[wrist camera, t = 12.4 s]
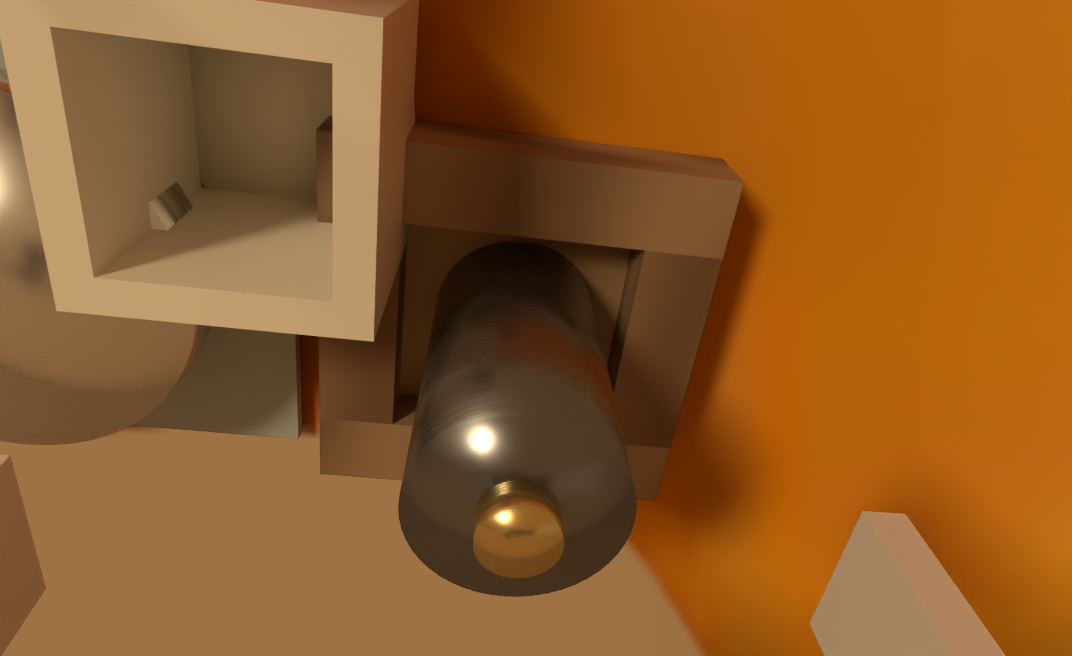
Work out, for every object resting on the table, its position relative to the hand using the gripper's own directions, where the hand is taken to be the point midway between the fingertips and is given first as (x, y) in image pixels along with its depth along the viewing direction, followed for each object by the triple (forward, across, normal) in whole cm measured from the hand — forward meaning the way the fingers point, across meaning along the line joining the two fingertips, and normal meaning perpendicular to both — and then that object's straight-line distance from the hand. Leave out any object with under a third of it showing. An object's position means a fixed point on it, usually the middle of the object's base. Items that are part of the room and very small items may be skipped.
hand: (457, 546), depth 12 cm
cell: (+9, +1, -1) cm, 10 cm away
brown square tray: (+10, +1, -1) cm, 10 cm away
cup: (+10, -5, +4) cm, 12 cm away
